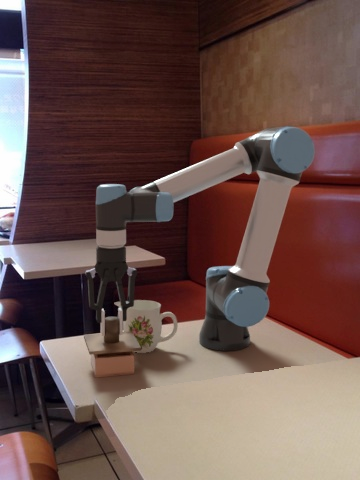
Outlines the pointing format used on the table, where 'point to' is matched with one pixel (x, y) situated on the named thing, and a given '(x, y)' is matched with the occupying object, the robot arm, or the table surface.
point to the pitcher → (147, 324)
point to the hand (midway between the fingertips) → (111, 333)
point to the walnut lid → (111, 339)
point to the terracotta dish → (113, 364)
